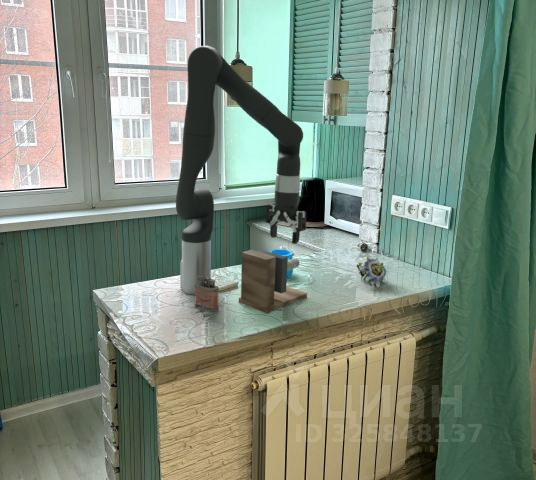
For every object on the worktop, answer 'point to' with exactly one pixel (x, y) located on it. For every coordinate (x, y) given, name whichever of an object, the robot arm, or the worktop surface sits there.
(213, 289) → the lighter
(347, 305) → the worktop surface
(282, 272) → the panel
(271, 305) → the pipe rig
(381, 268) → the passion flower
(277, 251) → the mug
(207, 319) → the worktop surface
